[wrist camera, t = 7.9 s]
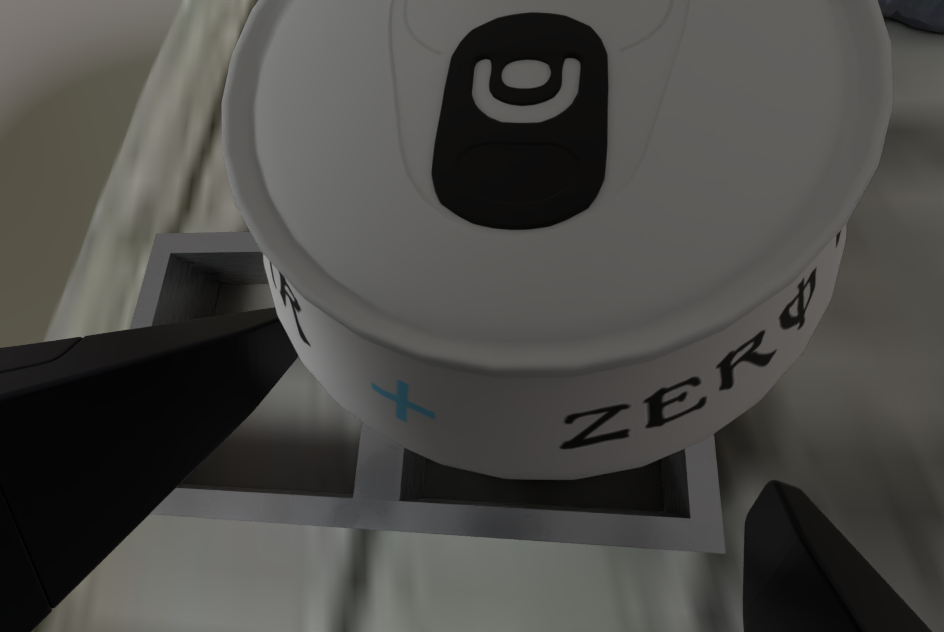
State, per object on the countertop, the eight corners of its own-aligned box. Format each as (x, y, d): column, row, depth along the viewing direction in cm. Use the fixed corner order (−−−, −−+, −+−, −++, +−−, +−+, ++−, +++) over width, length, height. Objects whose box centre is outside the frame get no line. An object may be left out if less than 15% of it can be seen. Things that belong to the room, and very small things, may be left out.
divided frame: (692, 540, 16) (725, 553, 13) (151, 505, 18) (80, 509, 15) (669, 262, 19) (692, 223, 16) (207, 266, 21) (156, 233, 18)
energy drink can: (626, 317, 18) (925, -247, 4) (623, 490, 16) (1135, 557, 2) (465, 307, 19) (253, -179, 5) (445, 469, 17) (27, 423, 3)
